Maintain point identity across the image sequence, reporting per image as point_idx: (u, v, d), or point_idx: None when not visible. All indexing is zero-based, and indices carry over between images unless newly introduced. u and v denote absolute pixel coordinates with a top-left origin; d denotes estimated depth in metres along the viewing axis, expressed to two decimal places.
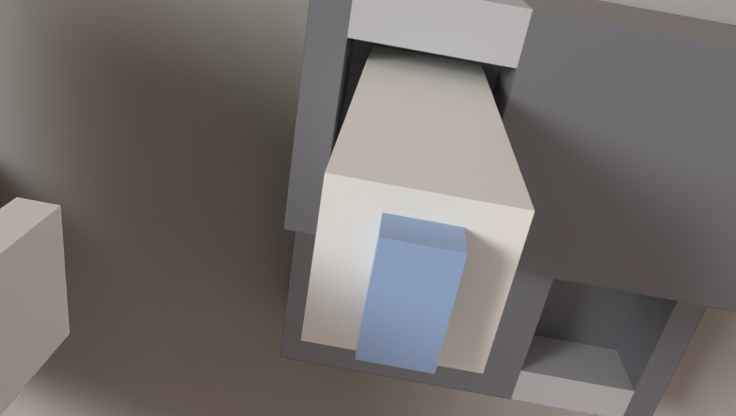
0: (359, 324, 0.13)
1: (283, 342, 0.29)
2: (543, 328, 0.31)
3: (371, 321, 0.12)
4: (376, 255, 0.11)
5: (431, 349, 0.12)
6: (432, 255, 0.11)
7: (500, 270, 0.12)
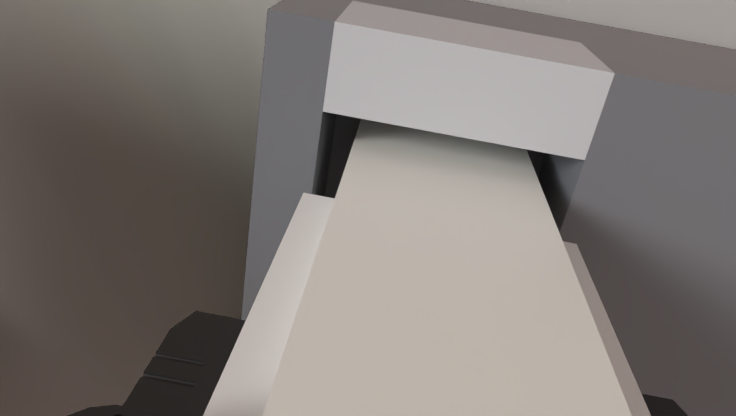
0: None
1: None
2: None
3: None
4: None
5: None
6: None
7: None
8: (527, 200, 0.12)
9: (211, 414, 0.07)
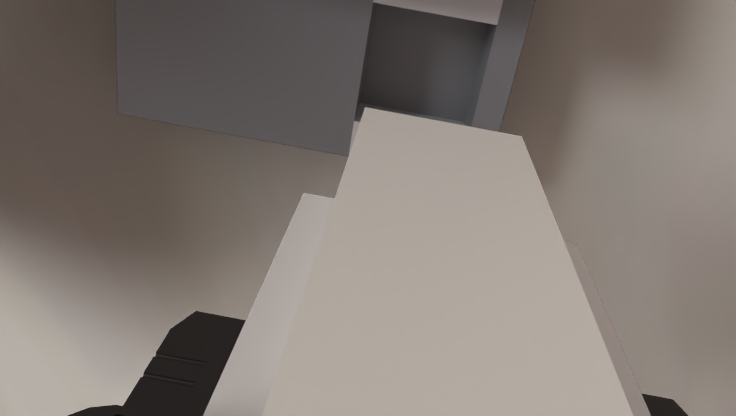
0: None
1: (119, 95, 0.29)
2: (389, 98, 0.31)
3: None
4: None
5: None
6: None
7: None
8: (528, 199, 0.12)
9: (210, 414, 0.07)
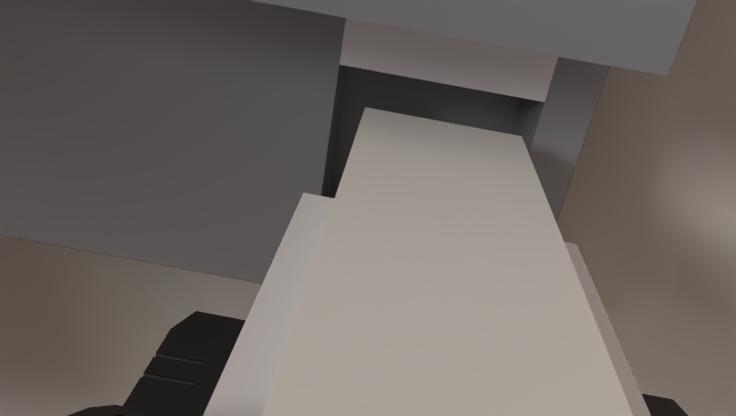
0: None
1: None
2: None
3: None
4: None
5: None
6: None
7: None
8: (528, 199, 0.12)
9: (211, 414, 0.07)
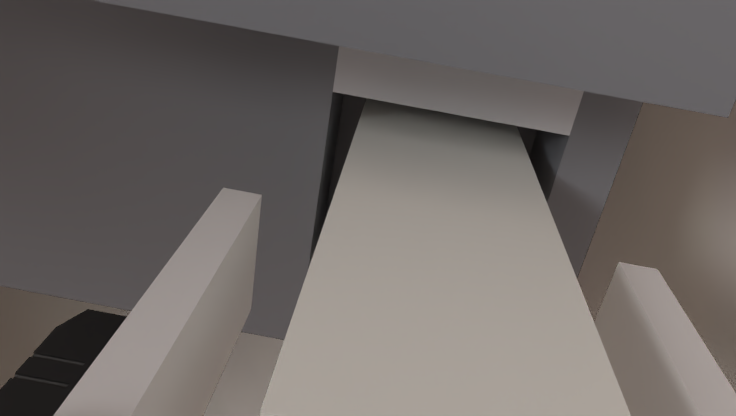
0: None
1: None
2: None
3: None
4: None
5: None
6: None
7: None
8: (516, 169, 0.13)
9: None
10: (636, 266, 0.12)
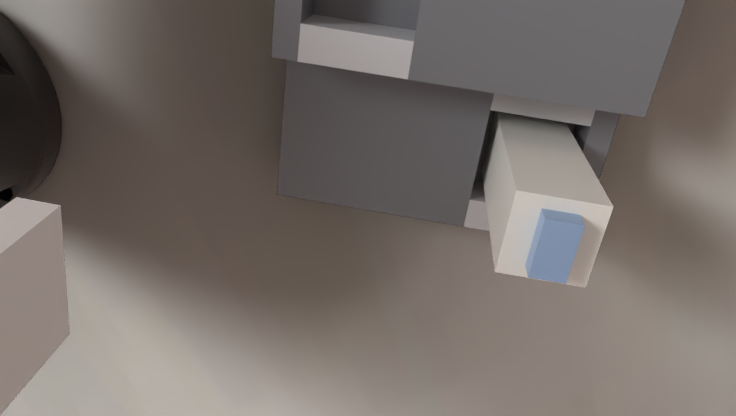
0: (525, 263, 0.27)
1: (279, 181, 0.36)
2: None
3: (537, 258, 0.26)
4: (543, 227, 0.25)
5: (565, 271, 0.26)
6: (568, 226, 0.25)
7: (596, 235, 0.26)
8: (568, 140, 0.32)
9: None
10: None
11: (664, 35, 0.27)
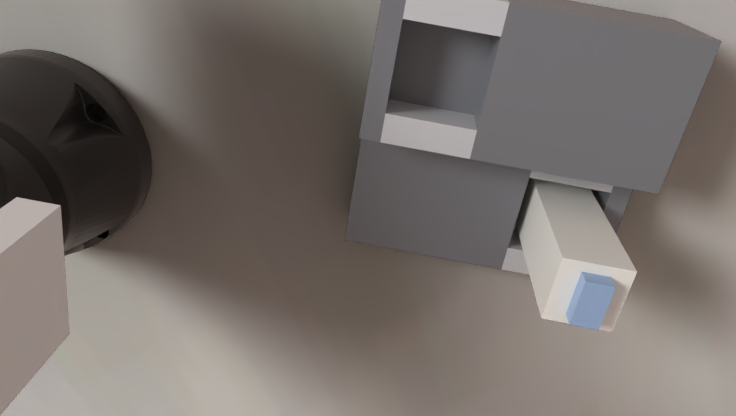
0: (565, 312, 0.34)
1: (347, 229, 0.43)
2: None
3: (578, 310, 0.33)
4: (583, 287, 0.32)
5: (598, 320, 0.33)
6: (603, 287, 0.32)
7: (622, 292, 0.33)
8: (593, 204, 0.40)
9: None
10: None
11: (676, 133, 0.35)
